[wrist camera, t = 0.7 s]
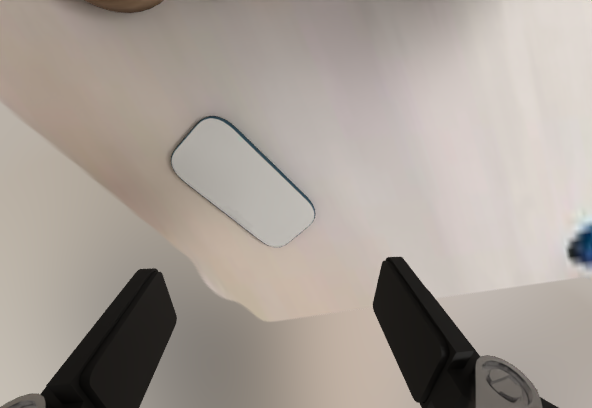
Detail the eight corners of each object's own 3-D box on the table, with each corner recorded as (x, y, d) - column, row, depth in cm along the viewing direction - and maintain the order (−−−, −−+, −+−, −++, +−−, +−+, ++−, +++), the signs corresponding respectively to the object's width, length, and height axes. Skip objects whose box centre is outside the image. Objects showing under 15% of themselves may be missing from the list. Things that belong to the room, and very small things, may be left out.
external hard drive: (321, 209, 40) (323, 214, 38) (276, 247, 43) (276, 254, 41) (214, 105, 31) (211, 105, 30) (166, 161, 34) (160, 165, 32)
